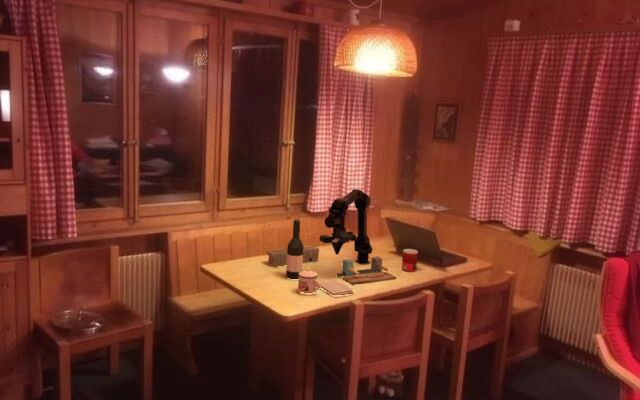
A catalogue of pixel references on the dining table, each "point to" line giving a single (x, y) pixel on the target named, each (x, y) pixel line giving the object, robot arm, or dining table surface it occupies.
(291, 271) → the wine bottle
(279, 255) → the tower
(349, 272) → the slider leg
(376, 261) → the gauge rail
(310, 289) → the teacup with lid
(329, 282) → the washcloth
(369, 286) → the dining table surface
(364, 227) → the robot arm
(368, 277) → the hole board
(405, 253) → the canned food
